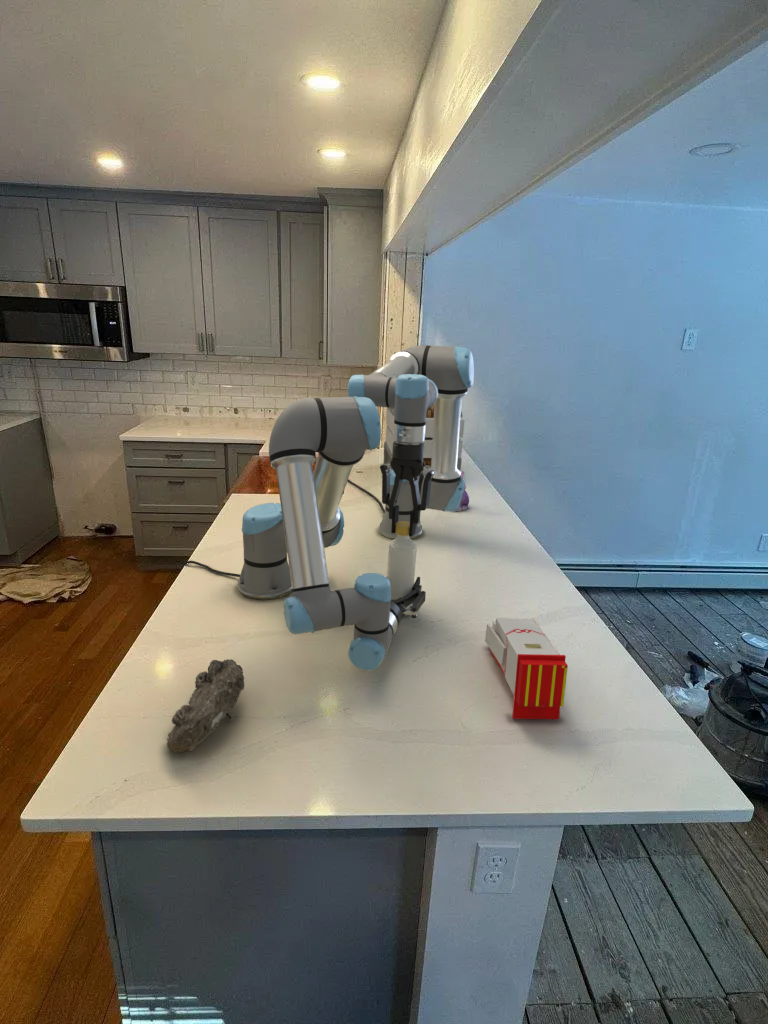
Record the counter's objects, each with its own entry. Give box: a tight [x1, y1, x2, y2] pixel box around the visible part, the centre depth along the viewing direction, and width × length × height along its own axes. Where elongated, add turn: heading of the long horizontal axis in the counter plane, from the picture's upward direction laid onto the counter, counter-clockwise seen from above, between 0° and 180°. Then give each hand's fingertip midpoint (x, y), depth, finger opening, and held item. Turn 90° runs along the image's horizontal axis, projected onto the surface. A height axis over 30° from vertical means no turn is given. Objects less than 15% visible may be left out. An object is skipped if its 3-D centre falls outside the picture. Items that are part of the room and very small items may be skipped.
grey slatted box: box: [382, 403, 465, 472], centre depth 268 cm, size 34×33×41 cm
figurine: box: [455, 470, 470, 512], centre depth 226 cm, size 9×10×15 cm
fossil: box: [166, 658, 245, 754], centre depth 106 cm, size 22×10×15 cm
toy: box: [484, 617, 569, 720], centre depth 122 cm, size 12×13×30 cm
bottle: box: [386, 535, 418, 617], centre depth 146 cm, size 7×7×23 cm
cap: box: [395, 521, 410, 536], centre depth 142 cm, size 4×4×2 cm
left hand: (404, 579), depth 152 cm, fingers closed on bottle, 7 cm apart
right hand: (403, 532), depth 142 cm, fingers closed on cap, 4 cm apart
